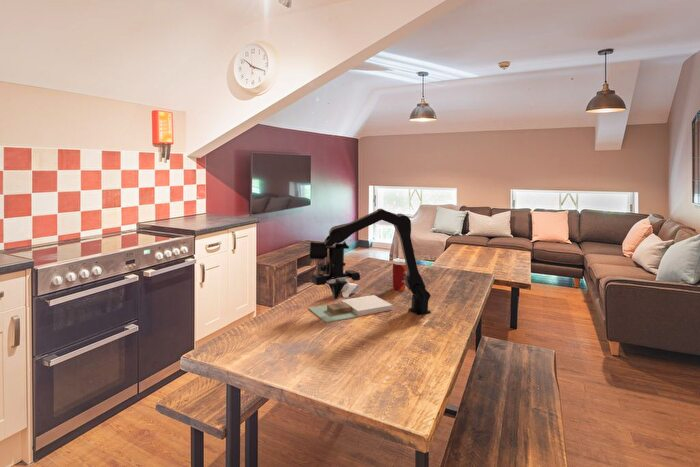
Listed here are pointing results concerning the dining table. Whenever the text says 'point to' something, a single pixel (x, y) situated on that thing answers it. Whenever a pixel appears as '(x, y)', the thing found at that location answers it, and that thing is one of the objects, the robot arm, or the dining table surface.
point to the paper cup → (399, 274)
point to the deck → (368, 305)
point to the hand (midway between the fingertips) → (335, 298)
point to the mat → (328, 316)
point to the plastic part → (349, 288)
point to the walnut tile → (339, 308)
